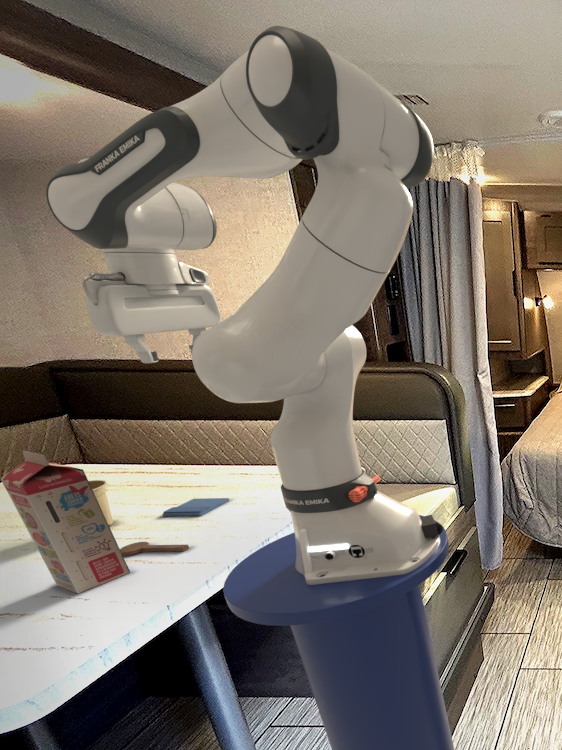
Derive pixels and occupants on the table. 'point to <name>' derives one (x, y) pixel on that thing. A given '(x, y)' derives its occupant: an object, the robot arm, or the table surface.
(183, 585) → the table surface
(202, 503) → the cloth
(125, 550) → the wooden spoon
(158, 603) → the table surface
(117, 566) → the juice carton
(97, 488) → the flower pot
